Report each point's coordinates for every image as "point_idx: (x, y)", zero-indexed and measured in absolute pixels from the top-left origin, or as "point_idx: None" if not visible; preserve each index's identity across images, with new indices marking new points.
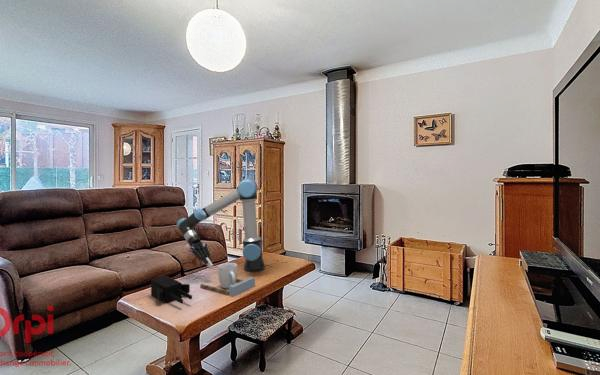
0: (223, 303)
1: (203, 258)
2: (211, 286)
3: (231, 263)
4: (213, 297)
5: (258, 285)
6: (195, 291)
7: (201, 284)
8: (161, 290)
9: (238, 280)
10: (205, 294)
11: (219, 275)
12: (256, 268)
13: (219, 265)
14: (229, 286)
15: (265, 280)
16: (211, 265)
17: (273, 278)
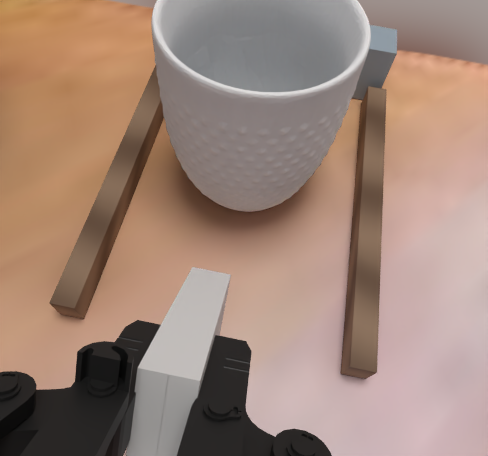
0: (474, 81)
1: (252, 426)
2: (361, 239)
3: (161, 25)
4: (449, 165)
5: None
6: (447, 364)
7: (365, 363)
8: None
9: (149, 129)
10: (444, 242)
11: (336, 131)
12: None
13: (298, 90)
14: (393, 51)
15: (62, 27)
16: (224, 275)
17: (15, 2)
